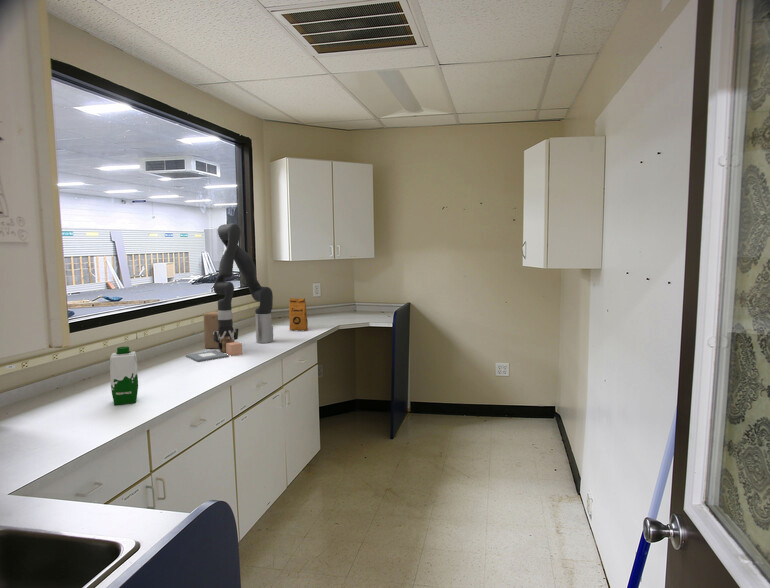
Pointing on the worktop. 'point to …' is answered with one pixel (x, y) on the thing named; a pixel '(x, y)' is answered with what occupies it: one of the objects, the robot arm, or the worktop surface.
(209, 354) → the slate mat
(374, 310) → the worktop surface
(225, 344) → the walnut cube
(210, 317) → the wooden block
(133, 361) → the milk carton
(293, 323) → the coffee package
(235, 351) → the terracotta cube
